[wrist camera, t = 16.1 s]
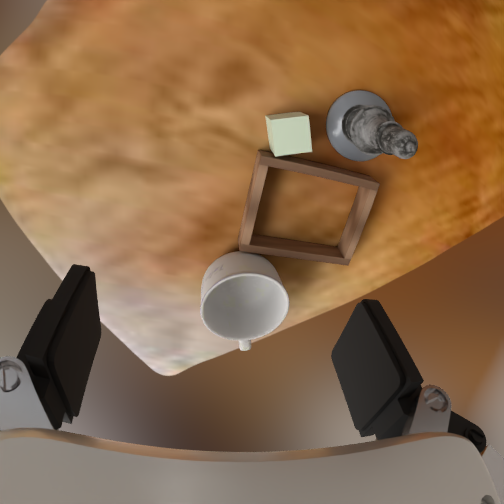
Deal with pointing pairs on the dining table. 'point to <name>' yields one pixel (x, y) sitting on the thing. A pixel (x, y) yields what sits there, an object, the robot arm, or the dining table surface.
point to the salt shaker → (377, 132)
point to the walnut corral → (299, 248)
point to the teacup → (242, 297)
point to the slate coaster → (337, 115)
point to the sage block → (289, 133)
